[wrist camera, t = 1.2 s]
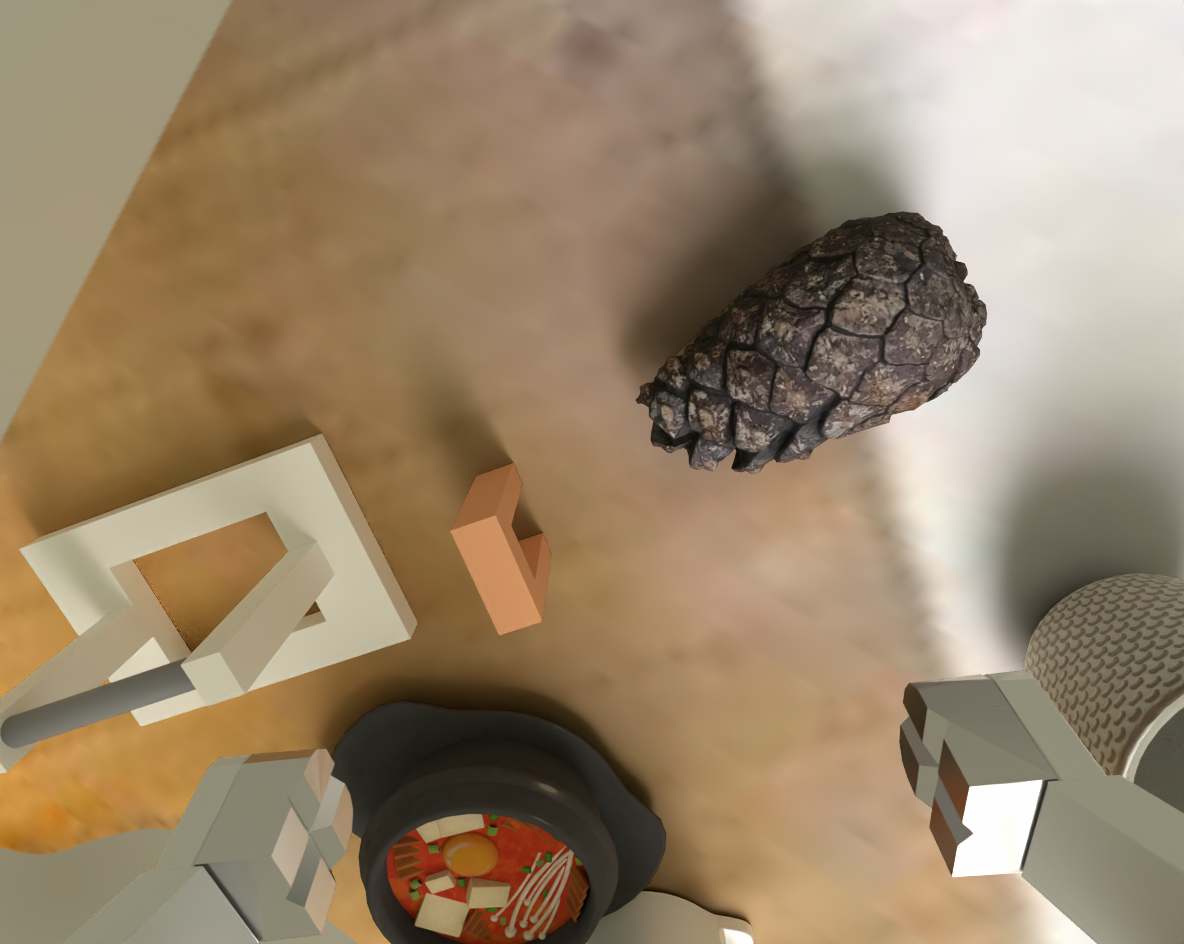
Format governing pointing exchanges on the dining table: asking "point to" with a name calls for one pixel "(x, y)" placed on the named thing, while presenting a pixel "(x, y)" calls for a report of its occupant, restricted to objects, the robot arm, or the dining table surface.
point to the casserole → (490, 827)
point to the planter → (1120, 676)
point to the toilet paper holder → (247, 634)
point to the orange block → (502, 552)
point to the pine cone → (822, 347)
